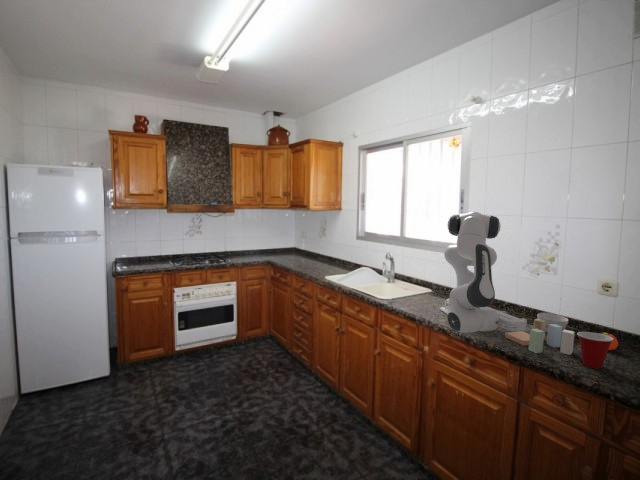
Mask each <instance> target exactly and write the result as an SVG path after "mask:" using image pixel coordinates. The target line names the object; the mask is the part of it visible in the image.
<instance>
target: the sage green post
mask: <svg viewBox="0 0 640 480" xmlns="http://www.w3.org/2000/svg"><path fill="white" fill-rule="evenodd" d="M529 334H530V337H529V345H528V347H527V348H528V351H529V352H532V353H534V354H541V353H543V347H544V341H545V337H544V331H542V330H539V329H533V328H531V329H530V330H529Z"/></svg>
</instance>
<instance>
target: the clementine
mask: <svg viewBox="0 0 640 480" xmlns="http://www.w3.org/2000/svg"><path fill="white" fill-rule="evenodd" d="M598 334H603V335H607V336H610V337H612V338H613V341H612V342H611V344H610V347H609V349H608V351H613V350H615V349H617V348H618V345H619V342H618V339H617V337H615V336H614V335H613V334H611V333H608V332H600V333H598Z"/></svg>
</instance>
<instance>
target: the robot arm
mask: <svg viewBox="0 0 640 480" xmlns="http://www.w3.org/2000/svg"><path fill="white" fill-rule="evenodd" d="M447 230H448V233H449V234H450V235H452V236H453V237H454V236H455V237H457V239H456V244H451V245H447V247H446V248H445V250H444V254H443V255H444V259H445V261H446V262H447V263H448V264H449V265H451V267H452V268H453V270H454V271H455V275H456V287H454V288H452V289H451V290H450V292H449V296H448V297H449V298H447V299H446V300H445V301H444V306H441V307H440V308H439V310H441V311H442V312H443V313H444V314H446V315H447V317H446V318H447V322H448V325H449V327H450V328H451V329H452V330H453V331H456V332H458V333H476V332H478V331H479V332H492V331H495V330H497V329H498V328H499V327H500V328H502V329H504V330H507V331H509V332H510V331H511V332H518V331H523V332H525V331H526V329H527V323H528V319H527V318H525V317H521V318H520V317H516V316H513V315H510V314H509V313H508V311H505V310H498V309H496V308H493V307H490V306H491V305H492V304H493V303H494V301H495V297H496V294H495V292H496V291H495V288H494V284H493V276H492V274H493V273H492V267H493V266H494V264H495V263H496V262H497V260H498V254H497V252H496V250H495V249H494V248H493V247H492V246H489V245H488V244H487V240H490V239H495V238H497V237H498V235H499V233H500V232H501V222H500V218H498V217H497V216H494V215H487V214H482V213H481V212H477V211H470V212H468V213H453V214H452V215H450V216H449V218H448V221H447ZM469 266H471V267H473V272H472V270H471V271H470V270H469V268H468V267H469Z"/></svg>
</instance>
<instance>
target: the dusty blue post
mask: <svg viewBox="0 0 640 480" xmlns="http://www.w3.org/2000/svg"><path fill="white" fill-rule="evenodd" d="M546 335H547V336H546V345H548V346H550V347H551V348H560V347H561V338H562V327H561V326H559V325H557V324H548V333H547V334H546Z"/></svg>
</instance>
